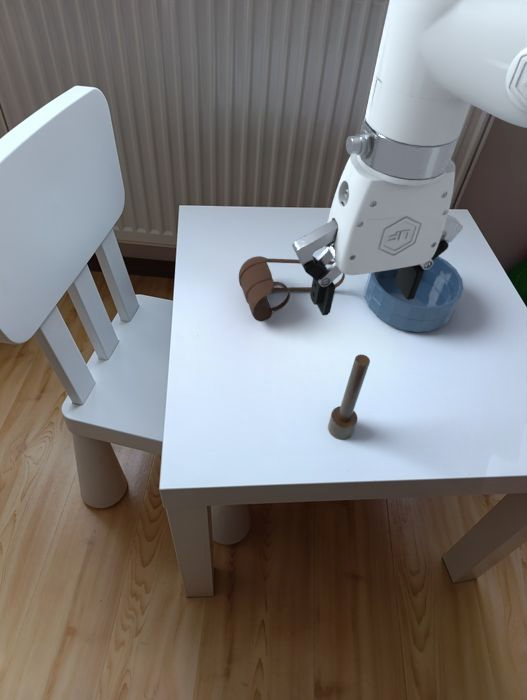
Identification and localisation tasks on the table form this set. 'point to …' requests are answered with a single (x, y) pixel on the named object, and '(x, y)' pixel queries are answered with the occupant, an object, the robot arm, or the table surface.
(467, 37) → the robot arm
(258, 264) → the brown barrel bag
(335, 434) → the stirring stick
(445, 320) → the bowl
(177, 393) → the table surface
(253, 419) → the table surface
